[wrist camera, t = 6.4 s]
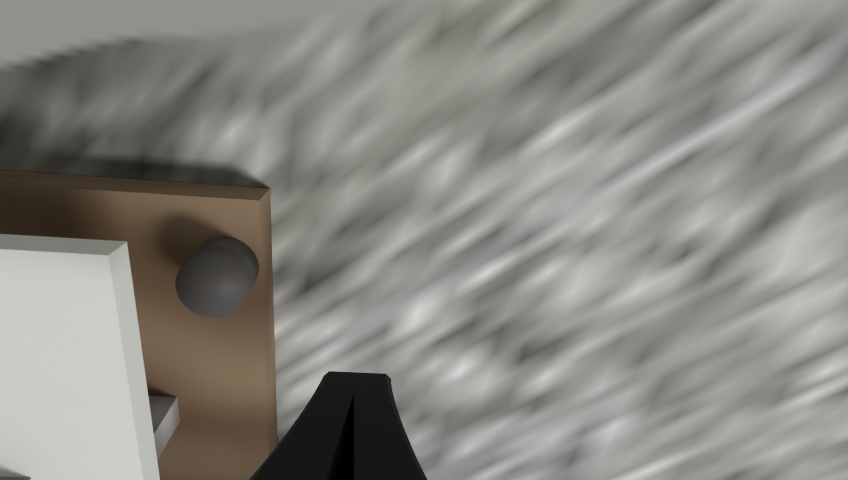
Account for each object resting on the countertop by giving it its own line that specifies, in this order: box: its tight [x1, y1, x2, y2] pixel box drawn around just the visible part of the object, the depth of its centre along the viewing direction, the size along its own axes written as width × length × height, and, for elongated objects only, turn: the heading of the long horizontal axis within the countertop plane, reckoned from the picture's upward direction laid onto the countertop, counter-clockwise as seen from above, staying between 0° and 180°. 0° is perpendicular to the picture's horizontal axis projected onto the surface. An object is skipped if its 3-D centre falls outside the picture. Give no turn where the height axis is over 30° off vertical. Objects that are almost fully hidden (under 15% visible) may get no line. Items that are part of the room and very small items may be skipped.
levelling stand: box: [0, 170, 277, 480], centre depth 20 cm, size 18×16×4 cm
